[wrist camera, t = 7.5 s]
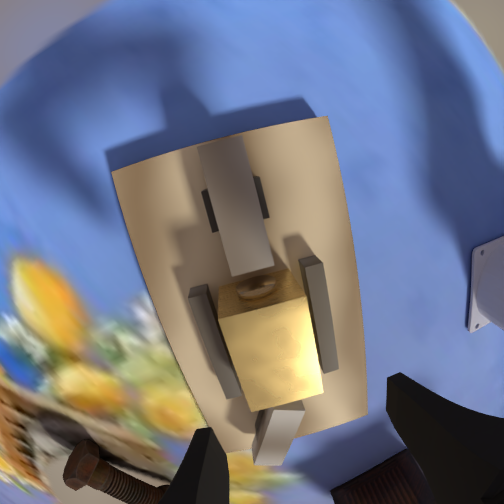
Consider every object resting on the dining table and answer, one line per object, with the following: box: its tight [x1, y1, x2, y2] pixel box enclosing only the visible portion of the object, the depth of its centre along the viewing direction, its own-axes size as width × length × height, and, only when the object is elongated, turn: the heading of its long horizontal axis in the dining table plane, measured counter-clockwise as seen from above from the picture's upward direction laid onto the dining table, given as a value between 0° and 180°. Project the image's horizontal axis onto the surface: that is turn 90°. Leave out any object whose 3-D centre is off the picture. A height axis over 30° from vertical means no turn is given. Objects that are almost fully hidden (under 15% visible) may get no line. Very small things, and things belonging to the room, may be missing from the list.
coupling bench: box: [111, 116, 368, 465], centre depth 18 cm, size 12×22×4 cm, turn 14°
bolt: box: [63, 439, 169, 504], centre depth 22 cm, size 6×5×15 cm
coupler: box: [218, 268, 324, 412], centre depth 16 cm, size 4×7×4 cm, turn 14°
